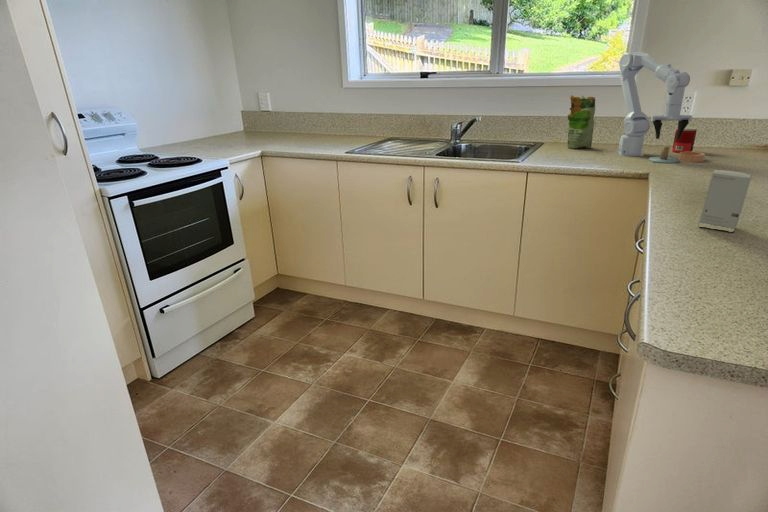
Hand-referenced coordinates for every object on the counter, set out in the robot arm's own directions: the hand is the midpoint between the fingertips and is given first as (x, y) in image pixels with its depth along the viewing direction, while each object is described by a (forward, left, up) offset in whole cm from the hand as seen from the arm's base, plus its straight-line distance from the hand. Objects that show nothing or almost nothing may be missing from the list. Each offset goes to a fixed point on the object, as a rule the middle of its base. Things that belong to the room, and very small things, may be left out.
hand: (667, 138), depth 201 cm
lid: (0, 0, -9) cm, 9 cm away
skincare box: (-10, -87, -10) cm, 88 cm away
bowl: (+11, +2, -10) cm, 15 cm away
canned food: (+13, +20, -10) cm, 26 cm away
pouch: (-30, +32, -10) cm, 45 cm away
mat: (0, 0, -10) cm, 10 cm away
